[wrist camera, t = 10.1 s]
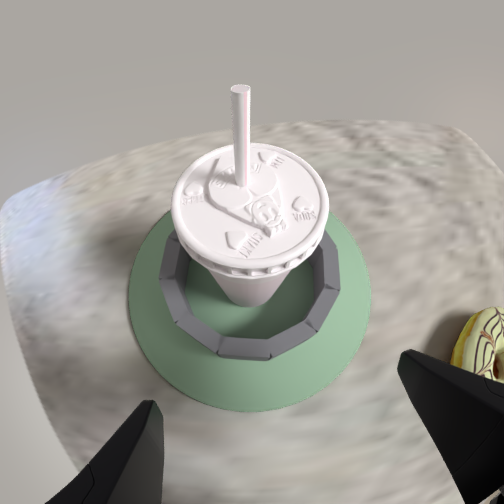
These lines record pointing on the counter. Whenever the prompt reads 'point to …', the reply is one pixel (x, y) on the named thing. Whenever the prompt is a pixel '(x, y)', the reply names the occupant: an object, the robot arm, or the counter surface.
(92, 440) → the counter surface
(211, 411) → the counter surface
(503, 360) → the decorated donut
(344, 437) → the counter surface
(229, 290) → the smoothie
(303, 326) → the putting green cup
